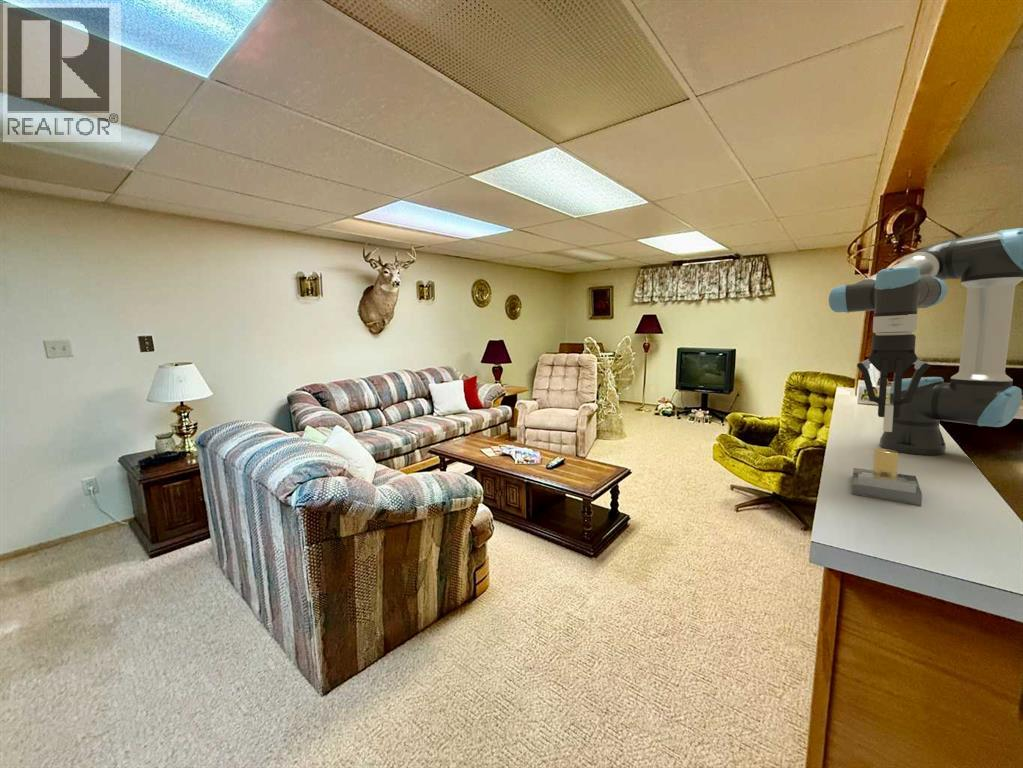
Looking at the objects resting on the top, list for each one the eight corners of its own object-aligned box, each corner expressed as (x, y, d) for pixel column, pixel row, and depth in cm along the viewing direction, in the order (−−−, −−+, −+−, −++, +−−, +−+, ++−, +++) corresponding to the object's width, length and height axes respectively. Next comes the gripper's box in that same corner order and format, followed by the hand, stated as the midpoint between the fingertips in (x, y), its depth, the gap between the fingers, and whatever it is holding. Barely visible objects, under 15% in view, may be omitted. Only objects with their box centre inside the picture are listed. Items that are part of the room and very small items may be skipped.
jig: (852, 476, 109) (853, 459, 109) (915, 485, 101) (916, 467, 101) (852, 494, 99) (853, 475, 98) (921, 505, 91) (922, 485, 90)
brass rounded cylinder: (868, 486, 103) (869, 448, 101) (887, 486, 102) (889, 448, 100) (880, 493, 98) (882, 453, 97) (901, 493, 97) (903, 453, 96)
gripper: (857, 335, 97) (852, 430, 100) (935, 333, 88) (927, 437, 91) (857, 334, 102) (852, 424, 105) (931, 332, 94) (923, 430, 97)
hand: (887, 430), depth 98 cm, fingers closed
